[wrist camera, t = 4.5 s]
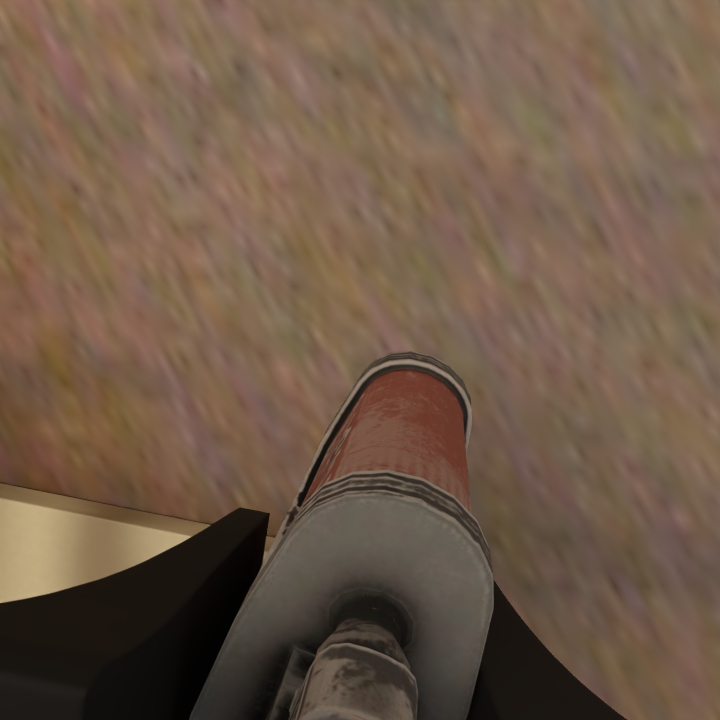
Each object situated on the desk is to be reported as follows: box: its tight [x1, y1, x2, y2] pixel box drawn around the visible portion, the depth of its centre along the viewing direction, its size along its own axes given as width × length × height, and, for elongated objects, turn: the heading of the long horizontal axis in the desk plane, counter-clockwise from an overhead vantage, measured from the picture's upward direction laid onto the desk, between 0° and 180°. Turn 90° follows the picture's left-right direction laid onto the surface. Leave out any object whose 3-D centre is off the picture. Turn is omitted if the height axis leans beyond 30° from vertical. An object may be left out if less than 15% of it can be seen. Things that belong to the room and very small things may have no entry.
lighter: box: [189, 351, 494, 720], centre depth 11 cm, size 8×3×10 cm, turn 160°
